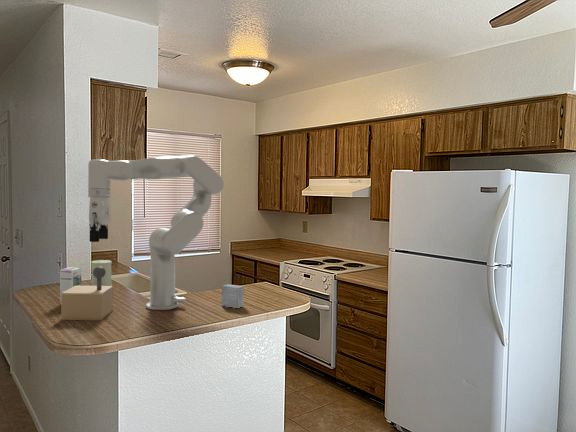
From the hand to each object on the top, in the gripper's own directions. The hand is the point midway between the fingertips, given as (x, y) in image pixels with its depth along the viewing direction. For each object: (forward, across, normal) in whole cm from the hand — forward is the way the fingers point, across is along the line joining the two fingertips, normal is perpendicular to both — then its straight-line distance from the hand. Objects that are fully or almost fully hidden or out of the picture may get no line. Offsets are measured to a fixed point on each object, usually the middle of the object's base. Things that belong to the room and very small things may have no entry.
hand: (99, 240), depth 175 cm
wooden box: (+28, 0, +4) cm, 28 cm away
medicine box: (+28, +15, -49) cm, 58 cm away
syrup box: (+28, +16, +16) cm, 36 cm away
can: (+28, +53, +16) cm, 62 cm away
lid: (+19, 0, +4) cm, 19 cm away
